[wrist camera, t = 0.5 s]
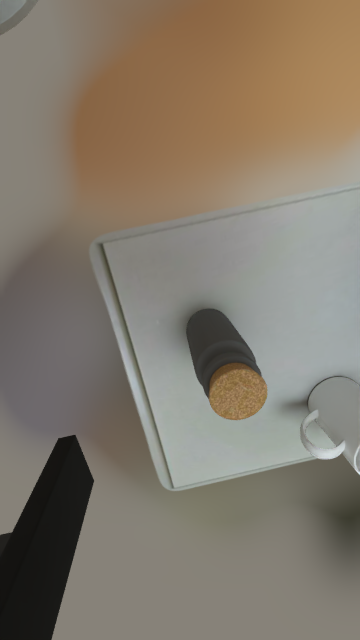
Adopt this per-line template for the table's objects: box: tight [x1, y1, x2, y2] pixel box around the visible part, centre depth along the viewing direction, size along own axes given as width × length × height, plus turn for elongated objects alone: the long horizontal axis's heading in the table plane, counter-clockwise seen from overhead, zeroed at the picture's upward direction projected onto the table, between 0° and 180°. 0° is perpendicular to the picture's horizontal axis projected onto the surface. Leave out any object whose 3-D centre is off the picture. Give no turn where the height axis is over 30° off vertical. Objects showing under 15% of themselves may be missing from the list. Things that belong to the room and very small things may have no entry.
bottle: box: [186, 309, 267, 420], centre depth 29 cm, size 6×6×15 cm
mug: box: [300, 377, 360, 475], centre depth 36 cm, size 12×8×10 cm, turn 94°
